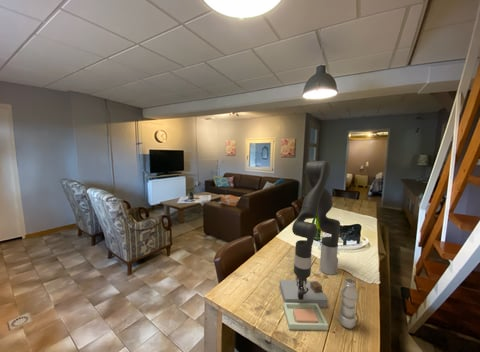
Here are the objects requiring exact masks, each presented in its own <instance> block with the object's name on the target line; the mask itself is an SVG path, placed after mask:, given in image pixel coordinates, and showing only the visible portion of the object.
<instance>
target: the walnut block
mask: <svg viewBox="0 0 480 352" xmlns="http://www.w3.org/2000/svg"><path fill="white" fill-rule="evenodd" d="M314 281H315V282H310V288H311V289H312V290H313V291H314V293H317V292H322V291H323V285H322V284H321V283H320V282H319V281H318V280H314Z"/></svg>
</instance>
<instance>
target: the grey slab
mask: <svg viewBox="0 0 480 352" xmlns="http://www.w3.org/2000/svg"><path fill="white" fill-rule="evenodd" d="M315 281H316V280H307V283H306V287H307V288H308V289H309V290H308V292H307V293H306V294H304V296H303V300H299V299H298V289H297V288H298V286H297V285H296V279H295V280H292V279H288V280H287V279H286V280H285V279H280V280H279V291H280V294H281V297H282V300H283V302H284V303H317V304H318V306H319V308H328V302H329V301H328V297H327V296H326V294H325V292H324V291H323V290H322V292H317V293H314V291H313V290H312V289H311V288H310V282H315Z"/></svg>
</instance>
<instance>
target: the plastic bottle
mask: <svg viewBox="0 0 480 352" xmlns="http://www.w3.org/2000/svg"><path fill="white" fill-rule="evenodd" d="M340 297H341V300H340V302H341V303H340V309H339V311H338V321H339V323H340V324H341V326H343V327H344V328H345V329H353V328H355V325H356V320H357V319H356V305H357V301H358V297H359V295H358V291H357V289H356V281H355V280H354V279H352V278H350V277H349V278H348V277H346V278H345V281H344V285H343V286H341V288H340Z"/></svg>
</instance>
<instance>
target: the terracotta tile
mask: <svg viewBox="0 0 480 352" xmlns="http://www.w3.org/2000/svg"><path fill="white" fill-rule="evenodd" d="M293 317H294V320H295V322H298V323H318V319H317V316H316V314H315V312H314V310H313V309H293Z"/></svg>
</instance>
